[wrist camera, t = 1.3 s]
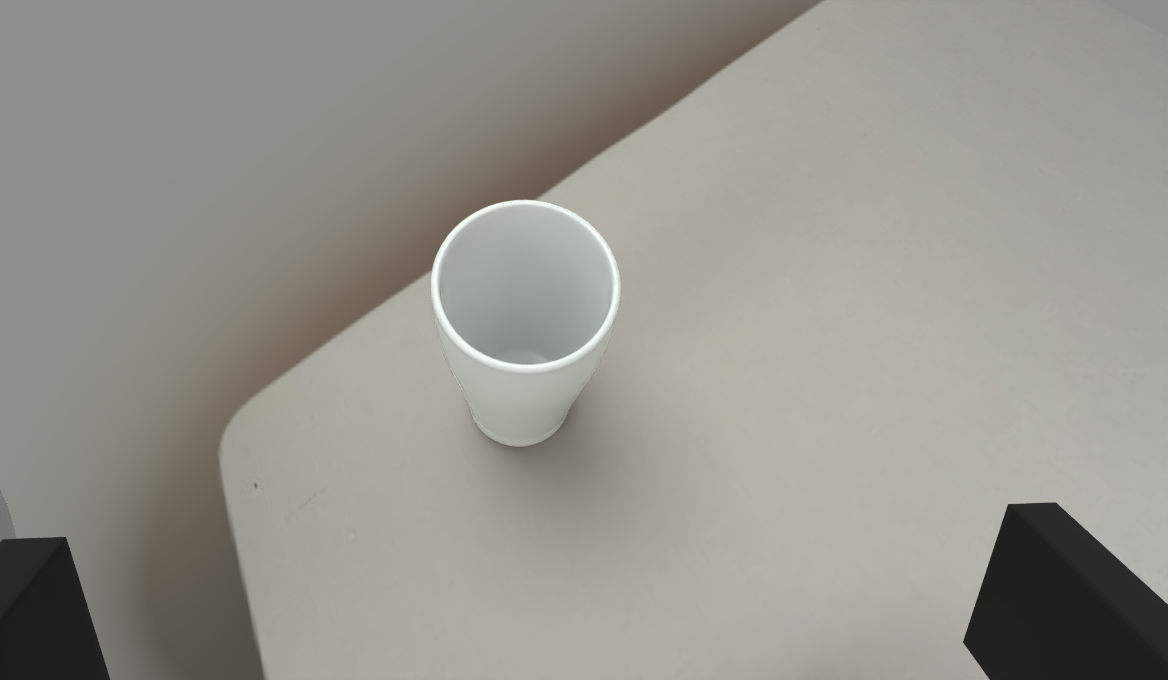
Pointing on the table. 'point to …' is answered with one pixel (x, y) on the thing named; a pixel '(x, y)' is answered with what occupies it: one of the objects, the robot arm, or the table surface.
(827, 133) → the table surface
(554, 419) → the drinking glass
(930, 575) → the table surface
